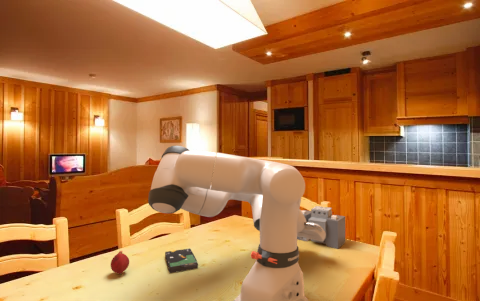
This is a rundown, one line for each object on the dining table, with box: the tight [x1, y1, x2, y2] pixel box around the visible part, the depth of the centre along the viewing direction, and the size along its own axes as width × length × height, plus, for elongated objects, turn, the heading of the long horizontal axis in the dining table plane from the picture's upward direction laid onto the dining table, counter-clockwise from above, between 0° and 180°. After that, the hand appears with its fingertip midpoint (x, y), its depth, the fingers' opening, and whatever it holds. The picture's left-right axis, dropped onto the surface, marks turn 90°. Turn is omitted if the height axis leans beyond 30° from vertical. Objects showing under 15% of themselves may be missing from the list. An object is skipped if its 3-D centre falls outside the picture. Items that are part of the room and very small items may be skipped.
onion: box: [110, 250, 130, 275], centre depth 90 cm, size 6×6×8 cm
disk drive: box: [164, 248, 199, 274], centre depth 99 cm, size 10×3×15 cm
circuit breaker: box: [308, 205, 333, 245], centre depth 120 cm, size 8×14×15 cm, turn 148°
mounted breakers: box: [297, 209, 346, 250], centre depth 122 cm, size 10×20×13 cm, turn 51°
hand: (305, 239), depth 109 cm, fingers closed
